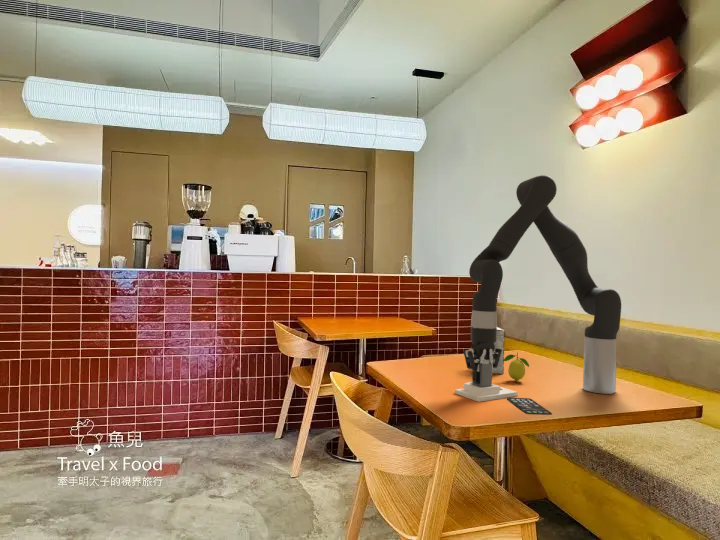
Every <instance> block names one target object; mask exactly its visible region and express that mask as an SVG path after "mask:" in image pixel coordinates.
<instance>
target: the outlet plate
mask: <svg viewBox="0 0 720 540" xmlns="http://www.w3.org/2000/svg"><path fill="white" fill-rule="evenodd" d="M454 394H456V395H459V396H460V397H461V396H462V397H463V398H467V399H470V400H472V401H476V402H477V403H479V402H486V401H493V400H494V401H495V400H500V399H507V398H515V397H518V394H519V392H518V391H515V390H512V389H510V388H509V389H508V388H506V387H502V386H500V385H497V384H493V383H492V386H491V387H483V388H481V387H478V386H475V385H472V381H470V382H463V388H458V389H457V388H455V389H454Z"/></svg>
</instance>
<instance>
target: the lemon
mask: <svg viewBox="0 0 720 540" xmlns="http://www.w3.org/2000/svg"><path fill="white" fill-rule="evenodd" d="M518 356H519V355H518V352H517V354H508V355H506V356H504V362H507V361H510V360H512V359H513V358H515V357H516V359H514V360H512V361H510V363H509V366H508V368H507V371H508V372H507V373H508V376H509V377H510V378H511V379H512V380H514V381H515V382H518V381H521V380H522V379H523V378H524V377H525V375H526V367H527V368H530V364H529V362H528V361H527V360H526V359H525V358H523V357H518ZM525 366H526V367H525Z"/></svg>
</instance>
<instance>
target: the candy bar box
mask: <svg viewBox="0 0 720 540" xmlns="http://www.w3.org/2000/svg"><path fill="white" fill-rule="evenodd" d="M505 332H506V331H505V329H502V328H501V327H498V326H497V336H496V342H495V343H494V345H495V348H499V349H501V350H502V352H501V356H500V359H499V363H498V366H497V368H494V369H493V370H492V375H504V370H505V368H504V366H505V365H504V364H505V361H504V359H505ZM494 362H495V360H494ZM494 362H493V363H494Z"/></svg>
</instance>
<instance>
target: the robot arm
mask: <svg viewBox="0 0 720 540" xmlns="http://www.w3.org/2000/svg"><path fill="white" fill-rule="evenodd" d="M515 191H516V193H515V194H516V199H517V201H518V202H519V205H520V206H519V208H518V209H517V210H516V211H515V213H513V214H512V216H510V217H509V218H508V219H507V220H506V221H505V222H504V223H503V225H501V227H499V229H498V230H497V232H496V233H495V235H494V236H493V238H492V239H491V241H490V242H489V244H488V245H487V247H485V248H484V249H483V250H482V251H481V252H480V253H479V254H478V255H477V256H476V257H475V258H474V260H472V263H471V264H470V266H469V272H468V274H469V276H470V279H471V280H472V281H473V282H475V283H480V288H479V290H477V291H475V292H473V296H472V311H471V316H470V317H471V319H470V320H471V322H470V341H471V347H470V348H469V349H465V350H463V355H464V360H465V364H466V369H469V370H471V371H472V374H473V377H472V378H471V379H472V380H473V383H475V384H480V372H479V371H480V369H481V364H483V361H484V360H488V361H489V363H491V364H492V370H493V369H494V368H497V366H498V363H499V359H500V356H501V352H502V350H501V349H499V348H495V345H494V343H495V342H496V336H497V327H498V316H497V315H498V313H497V305H498V301H497V300H498V299H497V298H498V296H499V292H500V290H501V289H500V288H501V285H502V282H503V279H504V278H503V275H504V273H503V268H502V267H503V266H502V265H501V264H500V262H502V261H506V260H507V259H509V258H510V256H511V255H512V254H513V251H514V249H515V248H516V247H517V246H518V244H519V242H520V241H521V239H522V237H523V236H524V235H525V234H526V232H527V231H528V229H529V228H530V227H531V226H532V224H534V225H535V226H536V228H537V229H538V231H539V233H540V234H541V236H542V238H543V239H544V241H545V242H546V244H547V246H548V247H549V250H550V251H551V253H552V255H553V256H554V259H555V261H556V262H557V263H558V264H559V266H560V268H561V269H562V272H563V273H564V275H565V276H566V278H567V279H568V282H569V283H570V285H571V287H572V289H573V292H574V294H575V296H576V299H577V301H578V303H579V305H580V307H581V308H582V310H583V311H584V312H585V313H586V314H587V315H590V316H593V322H592V324H591V325H590V326H586V327H585V328H584V336H583V337H584V338H583V339H584V342H583V344H584V345H583V371H582V372H583V374H582V389H583V390H584V391H587V392H591V393H596V394H603V395H609V394H610V395H612V394H615V392H616V389H617V361H616V360H617V359H616V358H617V356H616V355H617V353H616V352H617V335H618V332H619V330H620V327H621V326H620V325H621V317H622V316H621V315H622V299H621V295H620V294H619V293H618V292H617V291H616V290H615V289H612V288H607V287H606V288H603V287H598V286H597V284H596V283H595V281H594V280H593V278H592V277H591V275H590V273H589V269H588V264H589V263H588V252H587V249H586V247H585V246H584V243H583V242H582V240H581V239H580V237H579V235H578V234H577V231H575V230H574V229H573V228H571V227H570V226H569V225H568V224H566V223H565V222H563V220H561V219H560V218H558V217H557V216H556V215H555V214H554V213H553V212H552V210H551V208H550V207H549V205H550V204H551V203H552V201H553V200H554V198H555V197H556V194H557V191H558V190H557V184H556V182H555V180H554V179H553V178H552V177H551V176H549V175H546V174H545V175H543V174H542V175H537V176H533V177H531V178H528V179H525V180H524V181H522V182H520V183H518V186H517V187H516V190H515ZM477 360H479V361H477ZM494 360H495V362H494ZM493 362H494V363H493ZM476 363H477V367H476ZM472 380H471V381H472Z"/></svg>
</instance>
